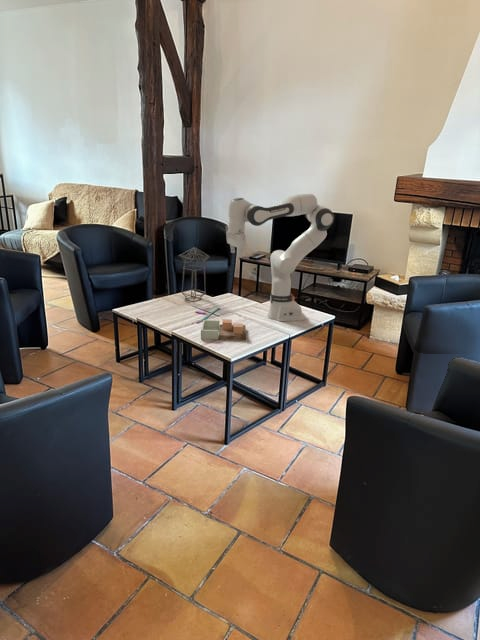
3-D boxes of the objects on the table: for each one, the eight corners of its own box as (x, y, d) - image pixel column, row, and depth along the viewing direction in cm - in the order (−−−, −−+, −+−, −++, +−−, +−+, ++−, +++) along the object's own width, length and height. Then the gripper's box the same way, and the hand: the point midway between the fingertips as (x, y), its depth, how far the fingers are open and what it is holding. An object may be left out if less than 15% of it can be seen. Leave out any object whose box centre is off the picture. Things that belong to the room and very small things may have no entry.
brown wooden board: (245, 329, 244) (245, 325, 243) (245, 340, 229) (245, 335, 228) (220, 328, 244) (220, 324, 243) (218, 339, 229) (218, 335, 228)
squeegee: (205, 305, 279) (219, 307, 276) (205, 307, 280) (219, 309, 276) (183, 319, 254) (198, 322, 251) (183, 322, 255) (198, 325, 252)
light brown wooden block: (231, 326, 241) (231, 319, 240) (231, 329, 236) (231, 322, 235) (222, 326, 241) (222, 319, 239) (222, 329, 236) (222, 322, 235)
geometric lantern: (193, 294, 304) (194, 244, 292) (210, 300, 295) (211, 248, 283) (176, 299, 293) (176, 247, 281) (193, 304, 283) (194, 251, 271)
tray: (219, 328, 244) (219, 320, 242) (218, 339, 229) (218, 330, 227) (203, 328, 244) (203, 319, 242) (200, 339, 229) (200, 330, 227)
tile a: (242, 330, 235) (243, 323, 234) (242, 334, 231) (243, 326, 229) (233, 330, 235) (233, 323, 234) (233, 333, 231) (233, 326, 229)
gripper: (249, 231, 231) (248, 257, 235) (234, 226, 248) (234, 250, 253) (238, 232, 228) (238, 258, 233) (224, 226, 246) (224, 251, 251)
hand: (236, 254), depth 243 cm, fingers open, 8 cm apart
